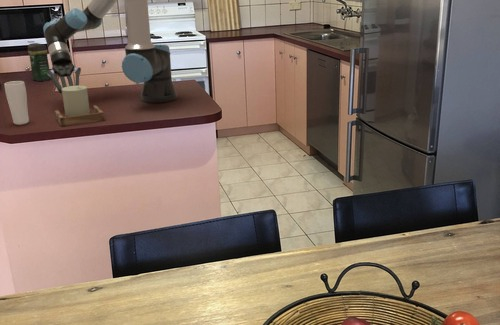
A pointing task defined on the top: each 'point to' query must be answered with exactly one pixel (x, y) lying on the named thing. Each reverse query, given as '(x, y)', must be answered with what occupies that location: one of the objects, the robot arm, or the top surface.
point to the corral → (80, 117)
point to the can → (75, 100)
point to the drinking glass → (17, 101)
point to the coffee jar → (38, 61)
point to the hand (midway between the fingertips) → (73, 106)
